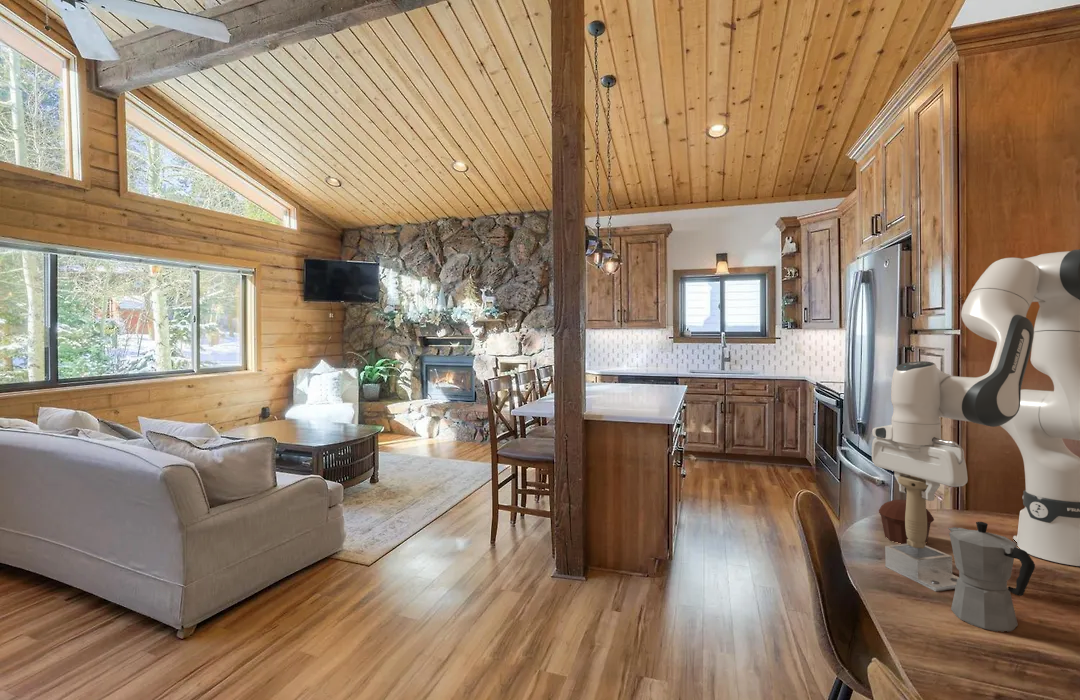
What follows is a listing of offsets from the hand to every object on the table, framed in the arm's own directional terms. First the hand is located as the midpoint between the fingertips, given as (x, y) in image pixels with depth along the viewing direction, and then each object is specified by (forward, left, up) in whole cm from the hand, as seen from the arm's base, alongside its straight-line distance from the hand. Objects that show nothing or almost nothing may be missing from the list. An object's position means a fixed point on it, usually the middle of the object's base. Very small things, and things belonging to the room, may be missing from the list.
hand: (916, 496), depth 112 cm
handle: (0, 0, -11) cm, 11 cm away
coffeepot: (+6, +19, -17) cm, 27 cm away
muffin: (-14, -16, -17) cm, 27 cm away
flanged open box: (0, +2, -17) cm, 17 cm away
